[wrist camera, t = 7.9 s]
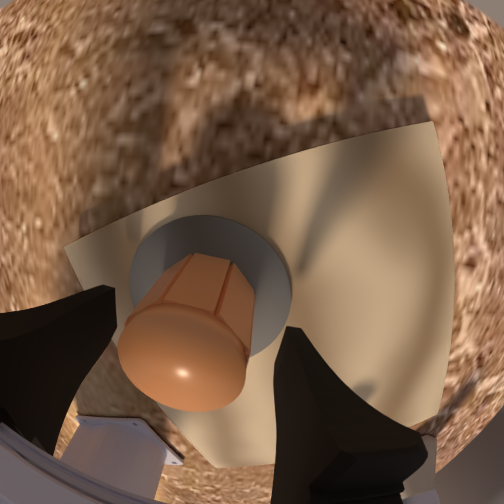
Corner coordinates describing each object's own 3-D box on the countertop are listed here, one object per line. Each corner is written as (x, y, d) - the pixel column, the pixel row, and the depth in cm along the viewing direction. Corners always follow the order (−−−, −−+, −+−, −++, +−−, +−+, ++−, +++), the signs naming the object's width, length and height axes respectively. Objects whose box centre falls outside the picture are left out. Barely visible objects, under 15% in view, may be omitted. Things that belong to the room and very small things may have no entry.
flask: (403, 433, 19) (430, 514, 10) (445, 431, 20) (473, 496, 10) (362, 468, 22) (375, 539, 12) (405, 465, 22) (423, 526, 13)
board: (217, 455, 21) (210, 503, 16) (78, 239, 14) (16, 275, 9) (431, 402, 18) (453, 447, 13) (418, 123, 11) (486, 115, 6)
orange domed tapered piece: (160, 325, 14) (122, 392, 9) (165, 246, 12) (113, 298, 8) (242, 344, 14) (233, 421, 9) (261, 266, 12) (259, 333, 8)
